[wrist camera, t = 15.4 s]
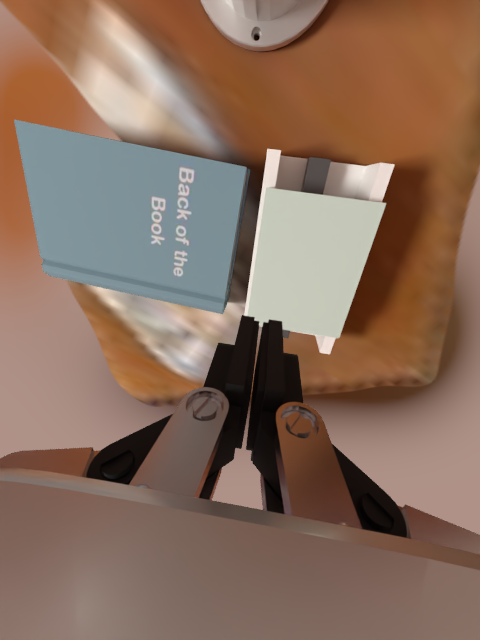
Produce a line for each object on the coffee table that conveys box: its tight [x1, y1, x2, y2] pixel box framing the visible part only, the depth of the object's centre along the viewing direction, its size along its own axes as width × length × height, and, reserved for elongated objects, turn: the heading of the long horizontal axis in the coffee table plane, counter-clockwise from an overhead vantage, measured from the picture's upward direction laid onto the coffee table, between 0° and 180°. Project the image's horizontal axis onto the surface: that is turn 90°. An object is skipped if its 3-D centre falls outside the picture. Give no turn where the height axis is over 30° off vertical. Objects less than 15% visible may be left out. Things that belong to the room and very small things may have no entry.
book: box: [14, 120, 250, 314], centre depth 30 cm, size 23×16×5 cm
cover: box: [247, 187, 386, 338], centre depth 27 cm, size 14×11×1 cm
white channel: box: [244, 149, 395, 354], centre depth 29 cm, size 20×11×5 cm, turn 173°
